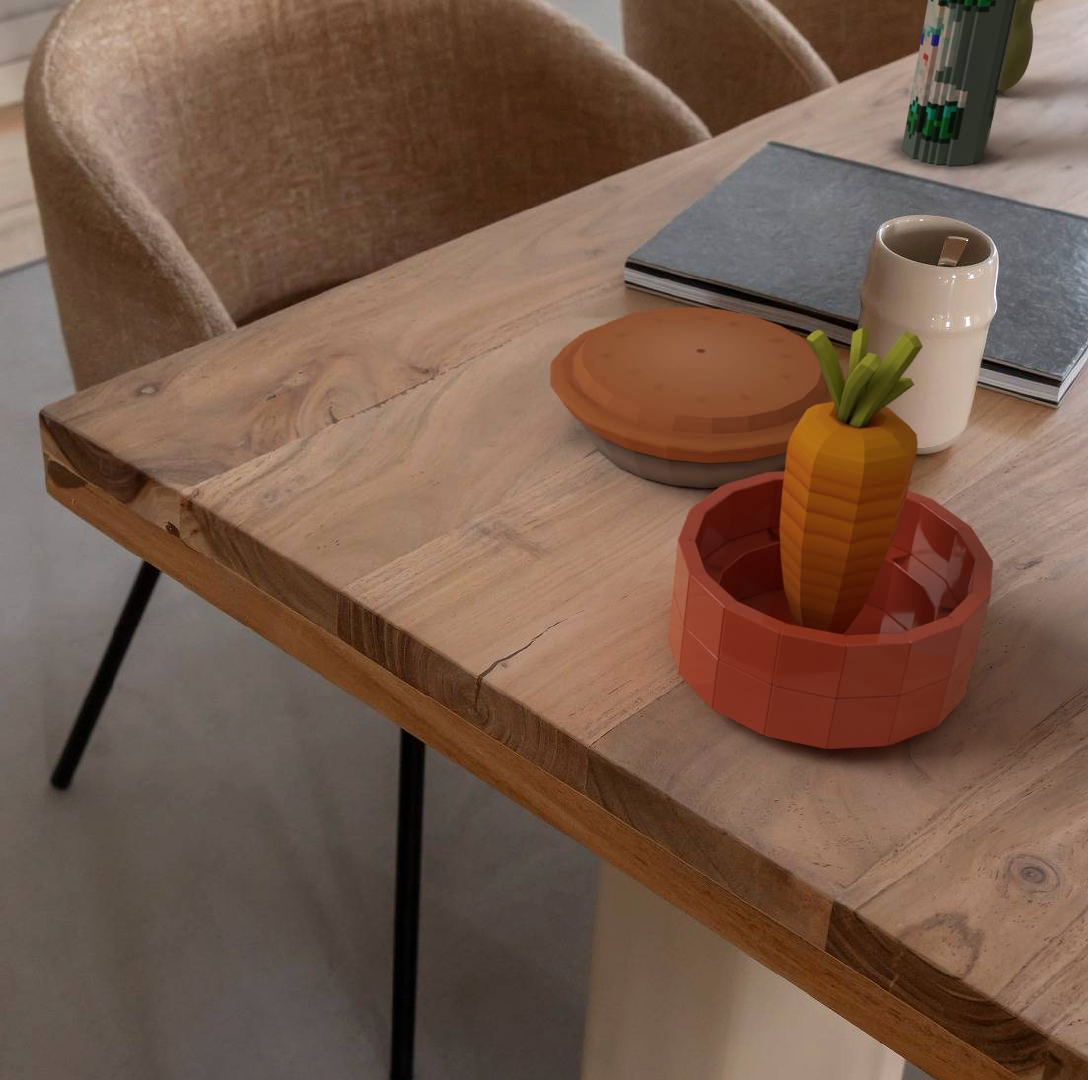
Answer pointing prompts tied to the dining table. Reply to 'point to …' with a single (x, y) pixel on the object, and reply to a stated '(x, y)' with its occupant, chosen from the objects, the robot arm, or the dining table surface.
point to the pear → (1018, 46)
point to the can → (957, 80)
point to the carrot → (845, 483)
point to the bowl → (819, 656)
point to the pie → (690, 393)
